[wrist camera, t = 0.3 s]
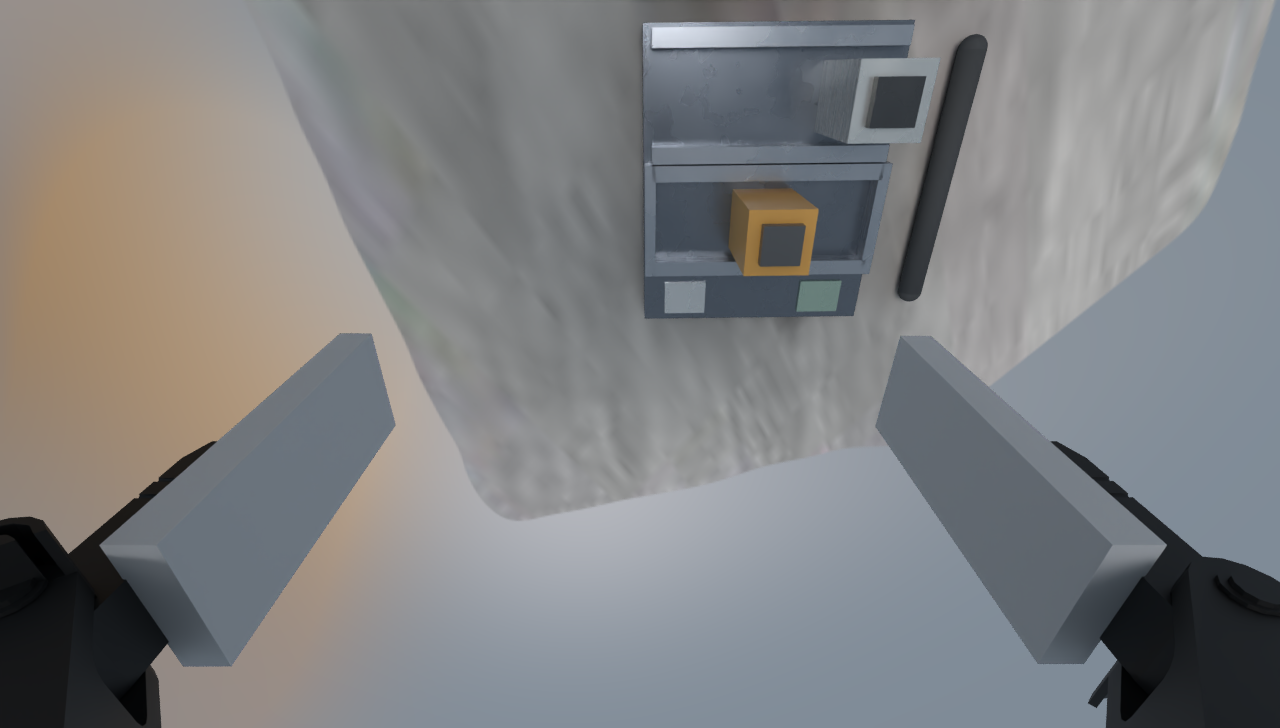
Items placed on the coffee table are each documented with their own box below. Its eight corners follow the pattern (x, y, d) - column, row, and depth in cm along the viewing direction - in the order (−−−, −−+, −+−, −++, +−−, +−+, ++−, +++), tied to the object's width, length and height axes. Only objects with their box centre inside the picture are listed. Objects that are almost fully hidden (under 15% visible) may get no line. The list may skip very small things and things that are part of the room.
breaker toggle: (732, 189, 35) (751, 212, 30) (791, 188, 35) (822, 211, 30) (728, 247, 37) (745, 279, 32) (784, 246, 37) (811, 278, 32)
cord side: (956, 35, 33) (970, 33, 32) (981, 34, 33) (997, 33, 32) (892, 296, 42) (901, 304, 40) (912, 296, 42) (922, 304, 40)
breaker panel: (642, 25, 33) (644, 12, 25) (900, 22, 33) (979, 8, 25) (644, 308, 42) (646, 360, 34) (844, 305, 42) (890, 357, 34)
